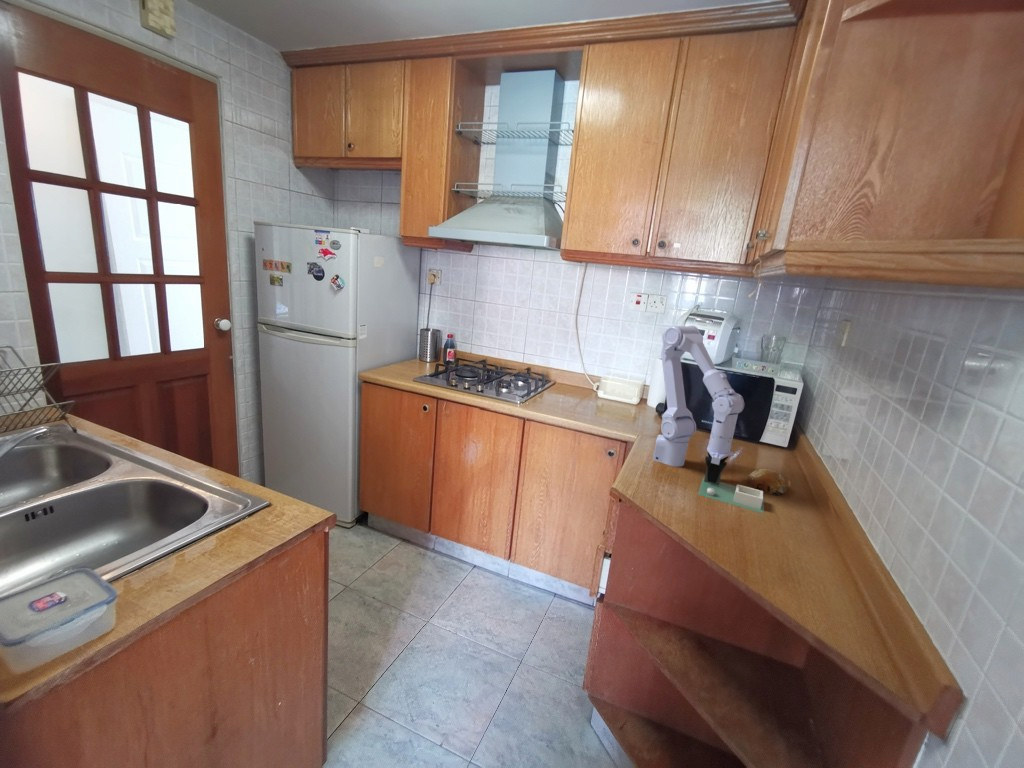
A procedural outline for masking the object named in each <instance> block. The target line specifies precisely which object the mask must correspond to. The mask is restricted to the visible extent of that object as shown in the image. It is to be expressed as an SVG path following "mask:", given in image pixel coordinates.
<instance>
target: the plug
mask: <svg viewBox="0 0 1024 768" xmlns="http://www.w3.org/2000/svg"><path fill="white" fill-rule="evenodd" d="M722 473H723V470H722V471H721V472H720V474H719V477H718V479H717V481H716V483H713V482H709V481H708V479H707V468H706V470H705V475H704V482H707V483H711V484H715V485H718V486H719V482H721V477H722Z"/></svg>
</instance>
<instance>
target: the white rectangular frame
mask: <svg viewBox="0 0 1024 768" xmlns="http://www.w3.org/2000/svg"><path fill="white" fill-rule="evenodd" d="M735 486H736V490H735V494H734V501H733V502H736V503H739V504H743V505H746V506H750V507H753V508H757V509H761V505H762V501H763V494H764V493H763V491H760V490H757V489H755V488H753V487H749V486H745V485H741V484H737V483H736V485H735Z"/></svg>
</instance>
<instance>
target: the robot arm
mask: <svg viewBox="0 0 1024 768" xmlns="http://www.w3.org/2000/svg"><path fill="white" fill-rule="evenodd" d="M661 339H662V347H661V362H662V372H663V381H664V389H665V397H666V398H665V399H666V405H667V406H666V407H667V409H666V410H665V412H664V413H662V414H661V415H662V416H661V419H662V421H661V425H660V431H661V434H658V435H657V436H656V437H657V438H656V441H655V445H654V449H653V450H654V451H653V456H652V461H655V462H658V463H661V464H665V465H667V466H670V467H677V468H678V467H679V468H680V467H684V465H685V460H686V456H687V451H688V445H689V441H690V440H691V436H694V435H695V433H696V431H697V424H696V421H695V420H694V416H693V413H692V412H691V411H690V410H689V408H687V403H686V395H685V394H686V392H685V388H684V387H685V385H684V379H683V378H684V377H683V371H682V369H683V368H682V360H681V357H682V356H684V354H685V353H689V354H690V356H692V358H693V360H694V362H695V363H696V365H698V367H699V369H700V370H701V372H702V373H703V377H702V382H703V384H704V386H705V387H706V389H707V391H708V393H709V394H710V397H711V398H712V400H713V401H712V403H711V405H712V406H711V407H712V411H713V412H714V413H713V422H712V425H711V430H710V431H711V432H710V436H709V441H708V445H707V446H706V447H707V448H706V451H707V455H708V456H707V455H705V457H704V461H705V464H706V469H707V479H708V481H709V482H713V483H716V481H717V479H718V477H719V474H720V472H721V471H722V472H723V470H724V468H726V466H727V464H728V462H726V461H727V459H728V458H729V457H734V455H735V452H734V451H731V447H732V443H733V442H732V441H733V437H734V435H735V430H736V426H737V425H736V424H737V420H738V415H739V414H740V413H742V412H743V410H744V408H745V401H744V397H743V396H742V395H741V394H740V393H737V392H736V391H735V390H734V388H732V386H731V384H730V383H729V381H728V379H727V377H728V376H727V374H726V373H725V372H723V371H722V370H718V369H717V368H716V367H715V365H714V362H713V361H712V358H711V356H710V354H709V353H708V350H707V348H706V346H705V344H704V337H703V335H702V334H701V332H700V330H699V328H698V327H697V326H695V325H686V326H685V325H673V324H672V325H670V326H668V327H667V328H666V329H665V331H663V333H662V334H661Z"/></svg>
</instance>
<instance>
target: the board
mask: <svg viewBox="0 0 1024 768" xmlns="http://www.w3.org/2000/svg"><path fill="white" fill-rule="evenodd" d="M704 478H705V476H703V477H702V480H701V483H700V486H699V489H698V493H697V495H698V496H702V497H705V498H709V499H712V500H715V501H718V502H723V503H726V504H730V505H732V506H736V507H739V508H744V509H747V510H750V511H753V512H757V513H761V514H764V513H765V511H764V509H765V493H763V501H762V505H761V509H757V508H753V507H750V506H746V505H743V504H739V503H736V502H733V501H734V494H735V490H736V486H737V485H733V484H728V483H725V482H722V481H720V482H719V486H718V485H715V484H711V483H707V482H704Z"/></svg>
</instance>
